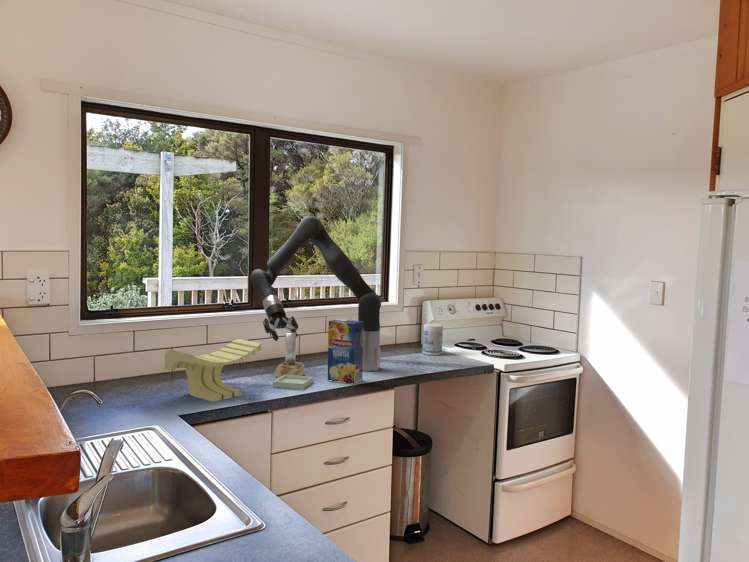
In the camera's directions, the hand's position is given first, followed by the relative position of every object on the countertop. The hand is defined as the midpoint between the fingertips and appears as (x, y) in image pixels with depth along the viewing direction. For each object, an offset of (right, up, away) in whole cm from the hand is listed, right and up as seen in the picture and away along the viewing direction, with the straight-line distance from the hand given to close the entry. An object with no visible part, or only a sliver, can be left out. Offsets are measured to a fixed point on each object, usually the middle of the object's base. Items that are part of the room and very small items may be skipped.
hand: (286, 339), depth 253 cm
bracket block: (+2, -15, -2) cm, 15 cm away
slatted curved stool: (-22, -17, -31) cm, 42 cm away
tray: (+5, -16, -15) cm, 23 cm away
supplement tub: (+65, -13, +52) cm, 84 cm away
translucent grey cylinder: (+2, -11, -2) cm, 12 cm away
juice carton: (+24, -16, -6) cm, 30 cm away
